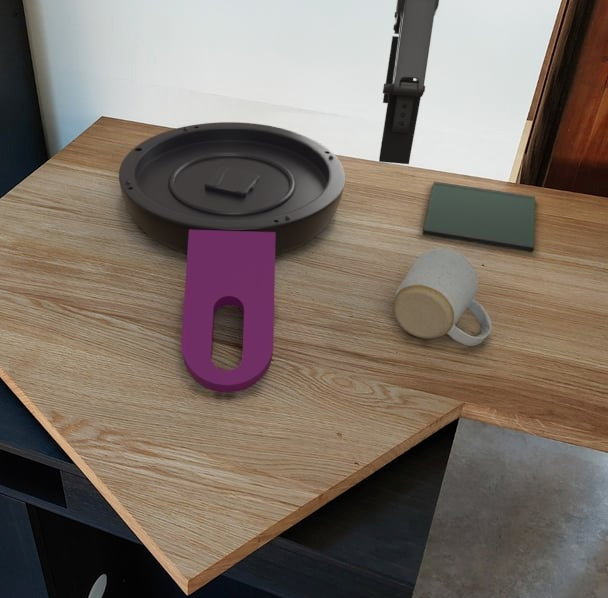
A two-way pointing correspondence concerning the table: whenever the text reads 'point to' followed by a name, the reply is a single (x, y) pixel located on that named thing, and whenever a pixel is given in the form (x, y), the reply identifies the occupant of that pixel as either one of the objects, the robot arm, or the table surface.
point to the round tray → (231, 183)
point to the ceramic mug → (440, 297)
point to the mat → (481, 216)
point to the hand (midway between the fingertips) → (395, 130)
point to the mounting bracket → (229, 303)
